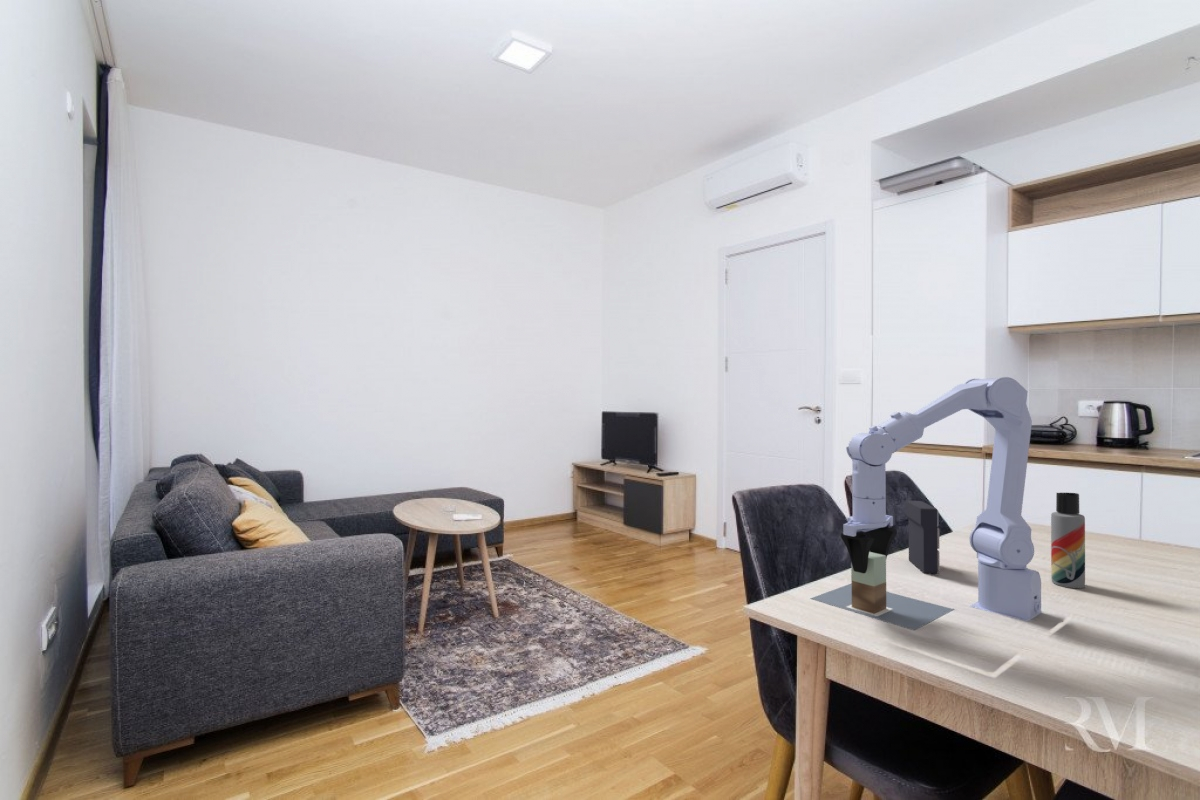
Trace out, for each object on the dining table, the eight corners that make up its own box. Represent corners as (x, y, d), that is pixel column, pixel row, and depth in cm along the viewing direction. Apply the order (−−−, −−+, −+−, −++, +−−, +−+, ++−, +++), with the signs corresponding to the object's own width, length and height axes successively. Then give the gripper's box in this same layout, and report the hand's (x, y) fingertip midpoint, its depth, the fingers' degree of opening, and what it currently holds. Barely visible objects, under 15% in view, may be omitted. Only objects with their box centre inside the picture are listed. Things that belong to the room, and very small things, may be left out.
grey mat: (954, 612, 109) (954, 608, 109) (914, 633, 99) (914, 629, 99) (852, 585, 125) (852, 582, 125) (809, 601, 115) (809, 598, 115)
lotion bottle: (1056, 586, 124) (1056, 493, 124) (1047, 579, 129) (1047, 489, 129) (1089, 590, 121) (1089, 494, 121) (1079, 582, 127) (1078, 490, 127)
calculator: (941, 574, 133) (941, 509, 133) (921, 573, 133) (920, 508, 133) (924, 561, 143) (924, 500, 143) (905, 560, 144) (905, 500, 144)
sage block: (886, 581, 110) (886, 555, 110) (873, 586, 107) (873, 559, 107) (863, 576, 113) (863, 550, 113) (851, 580, 110) (851, 554, 110)
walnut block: (886, 608, 109) (886, 581, 109) (874, 613, 107) (874, 586, 107) (863, 602, 113) (863, 576, 113) (851, 606, 110) (851, 580, 110)
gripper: (868, 490, 117) (868, 557, 117) (828, 498, 109) (828, 570, 109) (903, 494, 112) (904, 565, 112) (864, 503, 103) (864, 579, 103)
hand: (869, 568), depth 110 cm, fingers open, 6 cm apart
